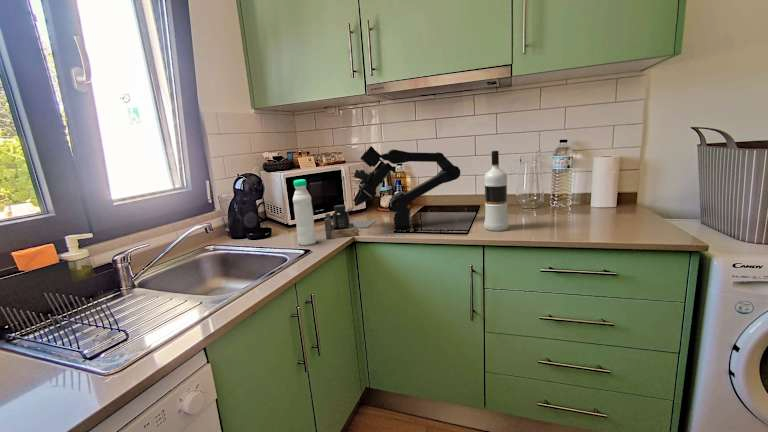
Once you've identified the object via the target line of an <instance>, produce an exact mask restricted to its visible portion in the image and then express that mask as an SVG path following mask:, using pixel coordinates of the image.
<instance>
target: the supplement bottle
mask: <svg viewBox="0 0 768 432" xmlns="http://www.w3.org/2000/svg"><path fill="white" fill-rule="evenodd" d="M346 210H347V209H346V205H345V204H337V205H334V206H333V211H334V212H333V213H332V215H331V216H332V225H334V230H342V229H350V222H351V221H350V215H349V212H348V211H346Z"/></svg>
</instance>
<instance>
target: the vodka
mask: <svg viewBox="0 0 768 432" xmlns="http://www.w3.org/2000/svg"><path fill="white" fill-rule="evenodd" d="M499 155H500V153H499V150H492V151H491V169H489V170H488V171H487V172H485V174H484V177H483V178H484V179H483V181H484V200H485V201H484V202H485V203H484V208H485V215H484V216H485V218H484V223H483V225H484V229H485V230H487V231H491V232H502V231H506V230H508V229H509V227H510V222H509V218H508V199H507V198H508V192H507V191H508V187H507V186H508V174H507V173H506V172H505V171H504V170H502V169H501V168H500V158H499V157H500V156H499Z"/></svg>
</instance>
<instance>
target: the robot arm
mask: <svg viewBox="0 0 768 432" xmlns="http://www.w3.org/2000/svg"><path fill="white" fill-rule="evenodd" d="M359 159H360V160H361V161H362V162H363V163H365V164H366V165H367V166H368V167H369V168H372V167H373V168H374V169H373V170H372V171H370V172H369V173H368V172H365V170H364V169H355V172H354V173H353V178H354V179H359V180H360V181H359V184H358V191H357V193H356V195H355V197H354V199H353V202H354V204H353V205H354V206H355V207H358V206H360V205H361V204H363V203H365V202H367V201H370V200H372V199H373V198H375V197H376V196H377V188H378V187H379V186H380V185H381V184H382V183H383V182H384V180H385V178H387V177H388V175H389V174H391V172H392V173H393V174H396V173H397V169H396V166H393V165H397V164H403V163H408V162H415V163H416V162H419V163H420V162H423V163H424V162H426V163H430V162H431V163H433V162H434V163H436V164H437V165H438V166H439V168H440V169H441V170H440V171H439V172H438V173H437V174H436V175H434V176H433V177H431V178H429V179H427V180H426V181H424V182H422V183H420V184H418V185H417V186H415V187H413V188H412V189H410V190H409V191H406V192H403V191H402V190H400V191H398V192H397V193H395V194H392V197H391V198H390V200H389V205H390V208H391V209H392V210H393V211H394V212H395V213H394V216H393V225H394V226H393V227H394V230H398V229H399V230H406V229H407V230H408V229H409V230H410V229H411V228H412V227H413V223H412V217H411V216H412V215H411V214H412V213H411V208H410V207H409V205H410V203H412V201H414V200H415V199H417V198H420V197H421V196H423V195H425V194H426V193H427V192H430V191H432V190H433V189H435V188H437V187H439V186H440V185H442V184H446V183H450V182H452V181H455V180H457V179H459V178H460V176H461V169H460V167H458V166H457V165H454V164H453V163H452V162H451V161H450V160H449V159H448V158H447V157H446V156H445V155H444V153H442V152H439V151H438V152H414V151H413V152H409V151H405V150H404V151H403V150H401V149H400V150H398V149H392V148H391V149H390V150H388V152H386V153H382V154H381V153H379V152H378V151H377V150H375V148H374V147H373V146H370V147H369V148H368V149H367V150H366V151H364V152H363V154H362V155H361V156H360V158H359ZM383 160H384V161H388V162H384V161H383ZM391 164H393V165H391Z"/></svg>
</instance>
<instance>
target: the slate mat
mask: <svg viewBox="0 0 768 432" xmlns="http://www.w3.org/2000/svg"><path fill="white" fill-rule="evenodd" d="M349 222H350V223H353V224H354V226H356V229H369V228H370V227H371V226H372V225H373V224H375V223H376V222H377V221H376V220H351V221H349Z"/></svg>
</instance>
